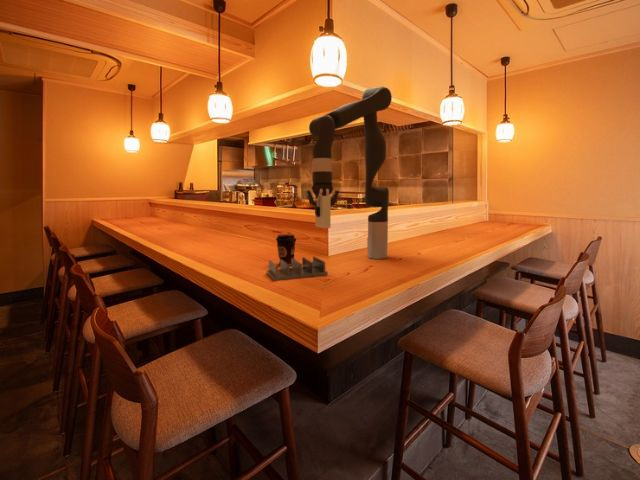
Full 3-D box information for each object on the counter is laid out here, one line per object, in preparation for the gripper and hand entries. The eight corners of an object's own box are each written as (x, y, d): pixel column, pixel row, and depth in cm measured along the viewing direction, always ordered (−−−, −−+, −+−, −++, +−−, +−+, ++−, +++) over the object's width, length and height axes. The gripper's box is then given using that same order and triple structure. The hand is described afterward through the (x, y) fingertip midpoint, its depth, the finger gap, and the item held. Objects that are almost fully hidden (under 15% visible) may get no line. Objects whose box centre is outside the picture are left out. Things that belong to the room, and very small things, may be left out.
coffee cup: (283, 267, 143) (282, 236, 141) (273, 264, 149) (271, 235, 147) (300, 264, 148) (299, 234, 147) (289, 261, 155) (288, 233, 153)
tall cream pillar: (315, 226, 134) (315, 196, 133) (322, 226, 135) (322, 196, 134) (323, 228, 127) (323, 195, 125) (330, 227, 128) (330, 195, 126)
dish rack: (266, 273, 133) (266, 260, 132) (316, 268, 140) (316, 256, 139) (273, 280, 122) (273, 266, 121) (327, 274, 129) (327, 261, 128)
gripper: (334, 172, 134) (334, 215, 136) (301, 171, 129) (302, 216, 131) (343, 170, 128) (343, 216, 130) (308, 169, 122) (308, 217, 124)
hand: (322, 216), depth 130 cm, fingers closed on tall cream pillar, 3 cm apart
